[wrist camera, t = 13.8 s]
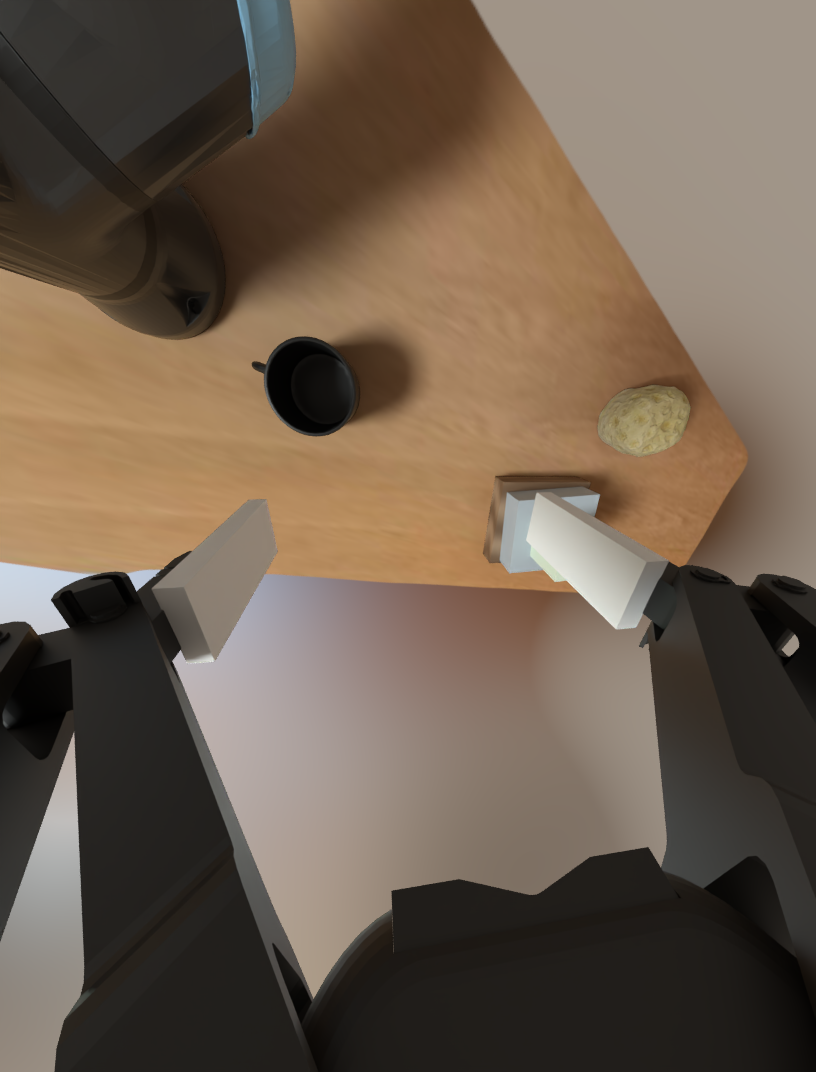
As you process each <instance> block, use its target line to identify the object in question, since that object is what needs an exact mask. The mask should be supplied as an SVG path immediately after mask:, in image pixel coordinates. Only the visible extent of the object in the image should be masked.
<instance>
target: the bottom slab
mask: <svg viewBox="0 0 816 1072" xmlns="http://www.w3.org/2000/svg"><path fill="white" fill-rule="evenodd" d="M590 484H591V482H589V481H586V480H584V479H581V478H579V477H495V482H494V488H493V494H492V500H491V506H490V513H489V519H488V525H487V531H486V537H485V543H484V550H483V554H484V556H485V557H486V559H487V560H488V561H489V563H501V562H500V552H501V543H502V534H503V524H504V515H505V506H506V497H507V492H517V491H530V490H543V489H556V488H569V487H581V486H582V487H585V488H587V489H589V487H590Z"/></svg>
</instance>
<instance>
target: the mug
mask: <svg viewBox="0 0 816 1072" xmlns="http://www.w3.org/2000/svg"><path fill="white" fill-rule="evenodd" d="M252 367H253V368H254V369H255V370H257V371H259V372H262V373H264V387H265V392H266V395H267V398H268V401H269V403H270V405H271V407H272V409H273V411H274V412H275V414H276V415H277V416H278V417H279V418H280V420H281V421H282V422H283V423H285V424H286V425H287V426H288V427H290V428H291V429H293V430H295V431H297V432H299V433H301V434H304V435H308V436H325V435H329V434H331V433H334V432H336V431H337V430H339V429H340V428H342V427H343V426H344V425H345V424H346V423H347V422H348V421H349V420H350V419H351V418H352V416H353V415H354V414H355V412H356V410H357V407H358V404H359V399H360V388H359V383H358V379H357V377H356V374H355V372H354V370H353V369H352V367H351V366H350V365H349V363H348V362H347V361H346V360H345V359H344V357H343V356H342V355H341V354H340V353H339V352H338V351H337V350H336V349H335V348H334V347H332V346H331V345H329V344H328V343H326V342H324V341H322V340H319V339H317V338H313V337H295V338H291V339H288V340H286V341H284V342H283V343H281V344H280V345H279V346H278V347H277V348H276V349H275V350H274V351H273V352H272V354H271V355H270V357H269V359H268V361H267V364H266V365H265V364H263V363H260V362H257V361H256V362H252Z"/></svg>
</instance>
